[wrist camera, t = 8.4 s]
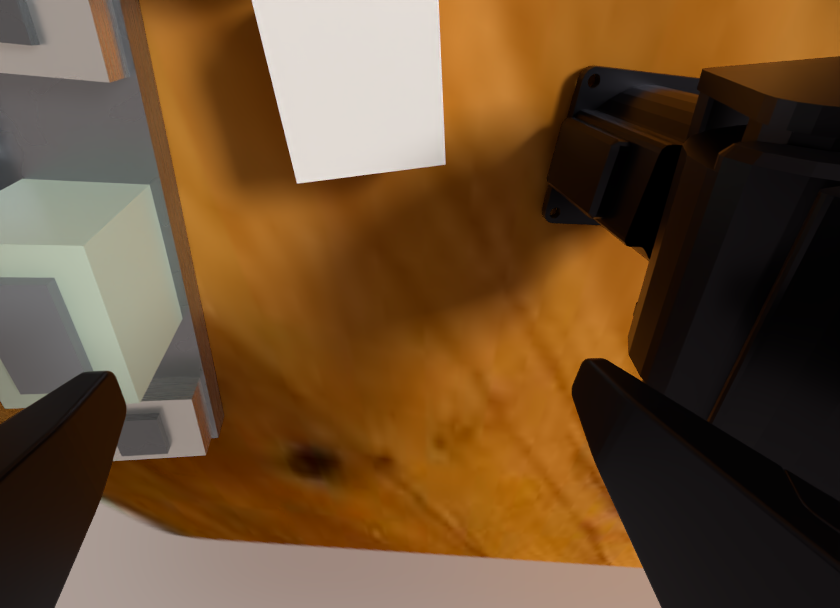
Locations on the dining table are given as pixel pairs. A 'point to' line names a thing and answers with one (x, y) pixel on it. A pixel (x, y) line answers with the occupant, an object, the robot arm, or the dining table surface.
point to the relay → (356, 84)
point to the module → (81, 287)
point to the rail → (109, 178)
